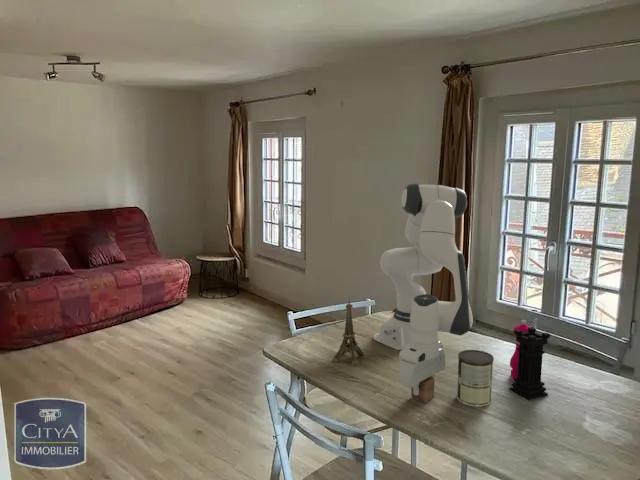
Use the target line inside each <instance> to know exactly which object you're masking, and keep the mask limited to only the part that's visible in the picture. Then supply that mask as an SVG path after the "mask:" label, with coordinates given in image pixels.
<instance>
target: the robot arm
mask: <svg viewBox="0 0 640 480" xmlns="http://www.w3.org/2000/svg"><path fill="white" fill-rule="evenodd" d="M401 205H402V209H403V210H404V212H405V213H407V214H408V217H407V220H406V221H407V222H406V224H405V225H406V226H405V229H404V235H405V238H406V239H407V241H408V242H409V243H411V244H413V246H410V247H395V248H392V249H389V250H385V251H384V252H383V253H382V254H381V256H380V260H379V263H380V265H379V266H380V269H381V270H382V272H383V273H384V274H385V275H386V276H387V277H388V278H390V280H392V282H393V284H394V286H395V289H396V303H397V304H396V305H397V307H395V308H394V309H391V313H393V316H392V317H390V318H389V319H387V320H385V321H384V322H382V323H381V325H380V327H379V332H377V333H376V334H374V335H373V341H376V342H379V343H381V344H383V345H385V346H387V347H390V348H392V349H394V350H396V351H399V354H398V356H399V359H401V360H400V362H399V364H398V365H399V367H398V380H399V381H398V382H399V383H400V385H401V386H403V387H407V388H411V387H412V388H413V394H414V395H419V394H420V393H421V392H420V391H421V389H419V387H418V385H419V382H421V381H423V380H425V379H427V378H429V377H430V378H433V379H434V380H435V377H436V375H437V374H438V373H439V372H441V371H443V370H445V367H446V352H445V349H444V345H443V342H441V341H440V337H439V332H440V333H449V334H453V335H455V336H456V335H457V336H463V335H465V334H466V333H468V332H469V331H470V330H471V329H472V327H473V318H474V317H473V313H472V308H471V302H470V293H469V284H468V283H469V282H468V274H467V268H466V267H467V266H466V260H465V257H464V253H463V252H462V251H460V250H459V249H458V247H457V245H456V237H455V236H456V219H458V218H460V217H461V216H463V215H464V213H465V212H466V209H467V205H468V199H467V194H466V192H465V191H464V190H463V189H462V188H459V187H450V186H447V185H441V184H419V183H410V184H408V185H406V186H405V188H404V190H403V192H402V193H401ZM443 267H444V268H445V269H447V270H448V271H450V273H451V275H452V277H453V283H454V295H455V301H443V300H438V298H437V297H436V296H434V295H431V294H428V293H427V292H426V290H425V288H424V287H423V286H422V285H420V284H418V283H416V282H414V276H424V275H427V276H428V275H432V274H435V273H439V272H441V270H442V269H443Z"/></svg>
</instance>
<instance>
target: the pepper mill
mask: <svg viewBox="0 0 640 480" xmlns="http://www.w3.org/2000/svg"><path fill="white" fill-rule="evenodd" d="M530 327H531V325H529V324H527V320H525V319H522V320H521V321H520V324H517V325H515V326H514V328H513V332H514V331H515V330H521V331H522V333H525V332H528V328H530ZM513 335H514V336H515V337H514V343H515V350H514V353H513V354H512V356H511V358H510V361H509V366H510V368H511V370H510V377H511V378H513V380H514V379H515V378H518V362H519V351H518V350H517V348H519V345H520V342H519V341H517V340H516V334H514V333H513Z"/></svg>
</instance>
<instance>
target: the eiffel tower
mask: <svg viewBox="0 0 640 480" xmlns="http://www.w3.org/2000/svg"><path fill="white" fill-rule="evenodd" d="M352 308H353V304H351V303H350V300H348V303H347V304H346V305H345V309H346V317H345V326H344V333H343V334H342V337H343V339H342V343H341V345H339V347H340V348H339V349H338V351H337V353H336V354H335V355H334V357H333V358H332V359H331V361H330V363H331V362H334V363H333V364H339V362H340V361H341V357H342V355H344V356H347V354H348V353H349V354H350V355H351V363H350V366H351V365H354V366H353V367H360V365H361V363H360V361H359V359H363V358H364V359H366V358H367V357H368V356H367V355H366V354H365V353H364V352H363V350H362V349H361V348H360V347H359V345H358V343H357V341H356V338H355V335H356V332H355V331H354V325H353V315H352ZM348 341H349V342H348ZM355 353H356V354H357V356H356V354H355ZM357 357H358V358H357ZM365 357H366V358H365Z"/></svg>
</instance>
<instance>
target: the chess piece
mask: <svg viewBox="0 0 640 480" xmlns="http://www.w3.org/2000/svg"><path fill="white" fill-rule="evenodd" d="M514 334H516V336H515V337H516V340H517V341H519V342H520V345H519V348H517V350H518V351H519V362H518V378H515V379H514V378H513V382H511V387H509V388H508V389H509V391H511V392H512V393H514V394H516V395H518V396H520V398H522V399H525V400H526V401H528V402H529V401H532V400H536V399H540V398H544V397H547V396H549V393H548V392H546V391H547V387H544V386H545V385H546V384H545V382H543V381H542V371H543V370H542V366H543V355H544V354H545V353H546V351H545V350H544V345H548V341H549V340H548V339H550V337H551V334H550V333H548V332H542V333H541V334H539V333H538V332H537V329H536V328H535V327H532V326H530V328H528V332H525V333H522V331H521V330H515V331H514V330H513V335H514Z"/></svg>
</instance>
